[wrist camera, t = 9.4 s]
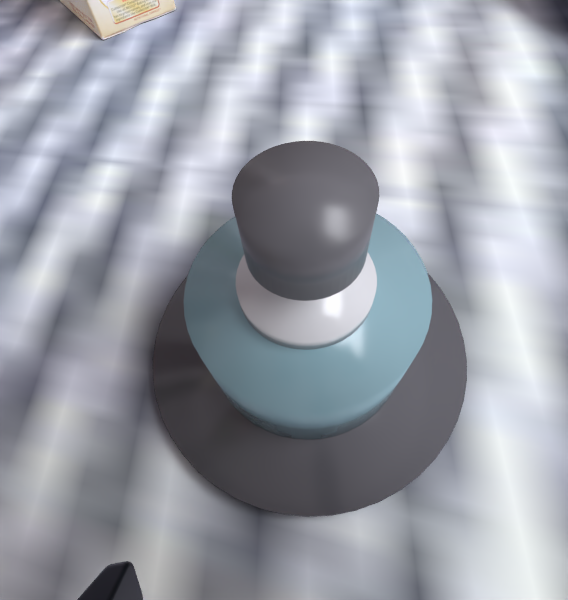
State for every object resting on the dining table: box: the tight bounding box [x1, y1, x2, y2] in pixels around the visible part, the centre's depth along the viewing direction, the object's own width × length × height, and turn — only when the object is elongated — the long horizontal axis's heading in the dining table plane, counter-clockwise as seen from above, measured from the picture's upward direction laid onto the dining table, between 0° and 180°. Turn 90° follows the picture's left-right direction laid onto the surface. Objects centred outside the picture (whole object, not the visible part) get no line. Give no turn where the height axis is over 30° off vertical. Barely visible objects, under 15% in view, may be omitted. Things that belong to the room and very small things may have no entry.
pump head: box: [232, 141, 379, 301], centre depth 11 cm, size 3×3×3 cm
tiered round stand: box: [153, 214, 467, 517], centre depth 15 cm, size 13×13×6 cm
